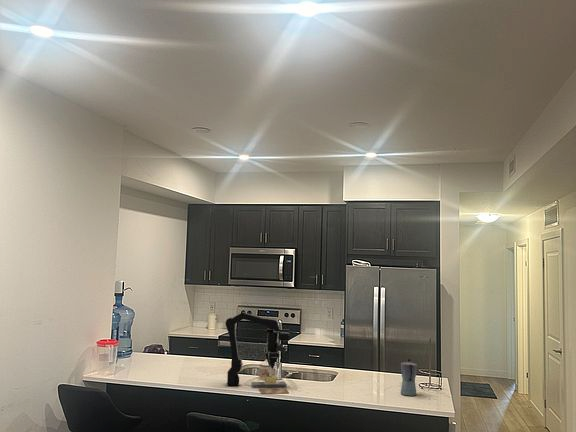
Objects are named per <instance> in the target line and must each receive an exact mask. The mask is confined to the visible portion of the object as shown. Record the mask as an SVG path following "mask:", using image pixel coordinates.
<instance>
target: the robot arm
mask: <svg viewBox="0 0 576 432" xmlns="http://www.w3.org/2000/svg"><path fill="white" fill-rule="evenodd" d="M243 320H245V321H248V322H253V323H255V324H260V325H263V326H264V327H266V329H265V331H264V333H265V334H266V333H267V338H266V339H267V340H266V346H265V347H264V349H263V351H264V355H265V357H266V359H267V361H268V364H269V365H271V368H272V369H273V368H275V364H276V361H277V360H278V359H279V358H280V353H279V352H281V353H282V354H285V353H286V351H287V348H286V347H285V346H284V344H283V343H280V344H279V342H278V340H279V341H282V342H290V329H289V328H287V329H282V328H281V327H280V326H279V323H278V322H279V321H278V320H277V319H275V318H270V317H262V316H259V315H255V314H251V313H248V312H246V311H242V312H240V313H239V314H237V315H235V316H233V317H232V316H231V317H228V318H227V319H226V320H225V324H224V325H225V327H226V330H227V333H228V335H229V336H228V337H229V343H230V352H231V364H230V365H231V366H230V368H229V369H228V370H227V372H226V373H227V376H226V379H227V380H226V386H227V387H239V385H240V376H239V372H240V371H242V367H243V365H244V363H243V358H242V357H240V356H239V350H238V349H239V348H238V342H237V334H236V330H237V324H238V323H239V322H241V321H243ZM273 370H274V369H273Z"/></svg>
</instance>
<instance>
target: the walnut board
mask: <svg viewBox="0 0 576 432" xmlns="http://www.w3.org/2000/svg"><path fill="white" fill-rule="evenodd" d="M258 391H259V393H260V394H261V395H270V394H271V395H280V394H282V395H283V394H285V395H286V394H290V391H289V390H288V389H287V387H286V388H258Z"/></svg>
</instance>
